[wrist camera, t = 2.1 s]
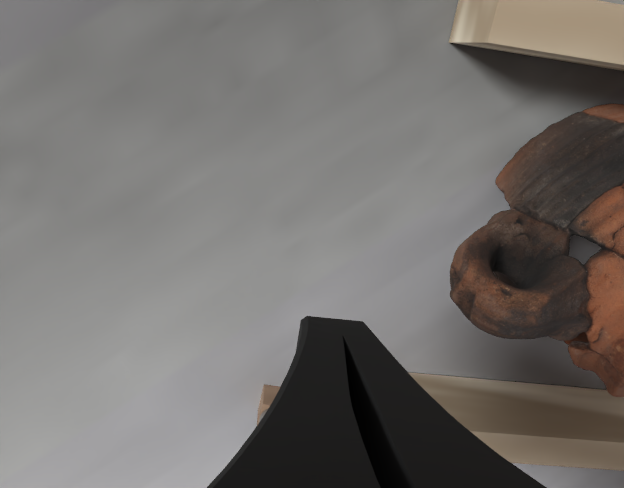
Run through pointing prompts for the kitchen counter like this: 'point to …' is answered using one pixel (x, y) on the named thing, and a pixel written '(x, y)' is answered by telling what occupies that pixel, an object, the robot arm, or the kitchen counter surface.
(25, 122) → the kitchen counter surface
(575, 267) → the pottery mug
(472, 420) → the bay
